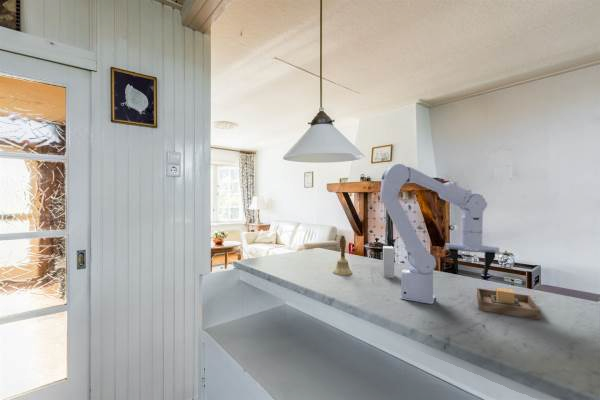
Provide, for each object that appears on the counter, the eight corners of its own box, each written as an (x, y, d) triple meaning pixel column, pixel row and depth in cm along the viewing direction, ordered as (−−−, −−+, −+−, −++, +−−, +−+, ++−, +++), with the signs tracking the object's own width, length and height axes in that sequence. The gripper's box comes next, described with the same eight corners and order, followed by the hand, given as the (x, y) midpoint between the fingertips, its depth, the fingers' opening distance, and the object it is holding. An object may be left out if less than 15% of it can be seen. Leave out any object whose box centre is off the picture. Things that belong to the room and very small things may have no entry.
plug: (497, 305, 87) (497, 290, 87) (496, 301, 90) (496, 287, 90) (514, 308, 85) (514, 293, 85) (512, 304, 89) (512, 289, 88)
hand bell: (353, 275, 121) (354, 237, 120) (333, 275, 121) (334, 236, 120) (350, 270, 129) (351, 234, 129) (331, 270, 129) (332, 234, 129)
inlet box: (478, 309, 85) (479, 301, 85) (476, 295, 97) (476, 288, 97) (539, 319, 78) (540, 310, 78) (529, 303, 91) (529, 295, 91)
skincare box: (394, 278, 117) (394, 248, 117) (383, 277, 118) (383, 248, 118) (392, 274, 123) (393, 246, 123) (382, 273, 124) (382, 245, 124)
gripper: (445, 231, 92) (444, 274, 92) (500, 234, 85) (499, 281, 85) (446, 229, 98) (445, 269, 98) (498, 232, 91) (497, 275, 91)
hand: (470, 274), depth 92 cm, fingers open, 7 cm apart
